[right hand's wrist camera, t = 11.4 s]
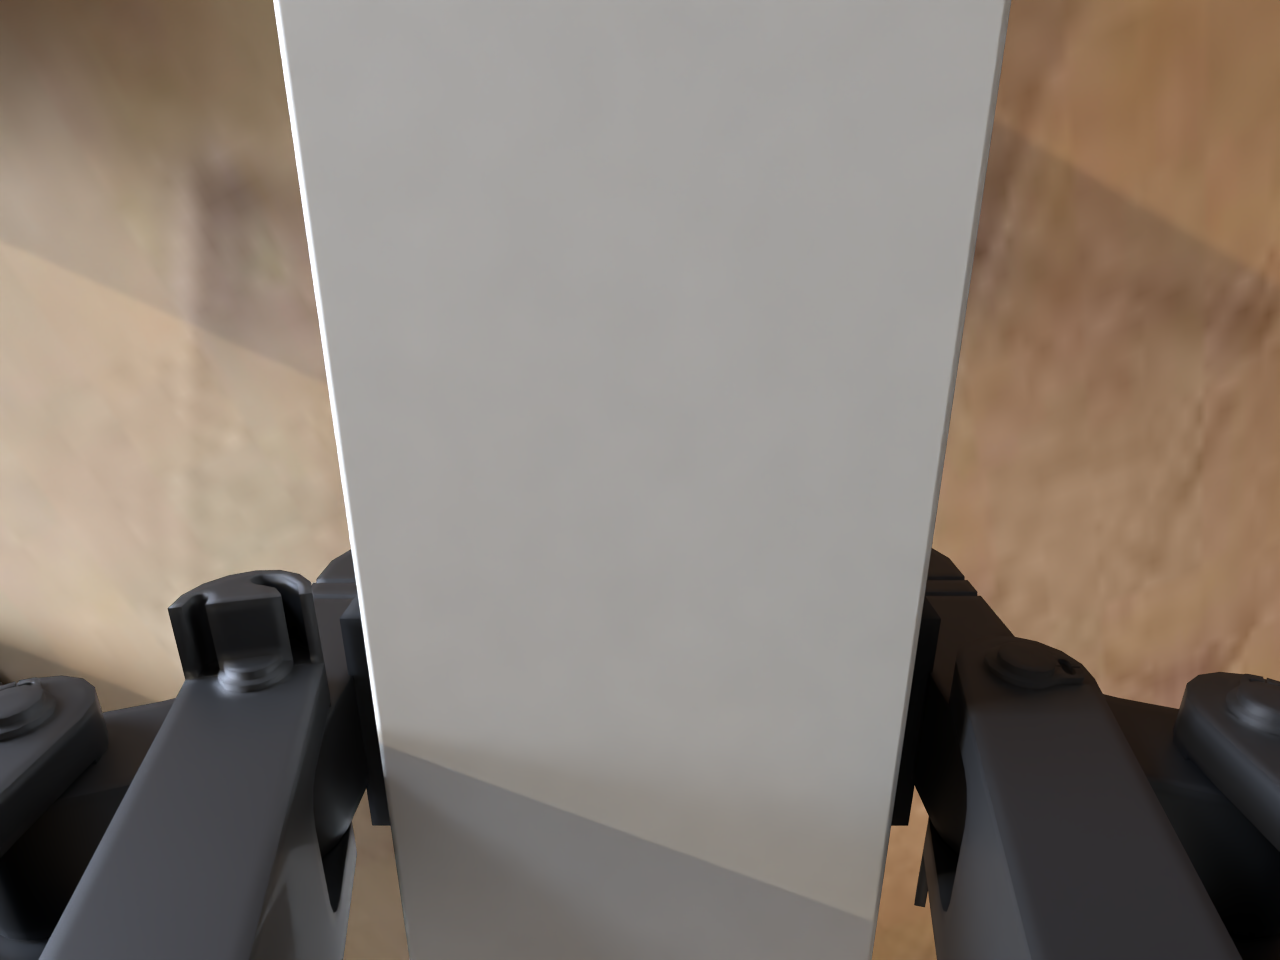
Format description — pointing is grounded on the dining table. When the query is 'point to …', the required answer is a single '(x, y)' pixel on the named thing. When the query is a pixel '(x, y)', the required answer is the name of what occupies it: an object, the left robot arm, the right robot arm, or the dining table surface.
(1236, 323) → the dining table surface
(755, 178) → the post
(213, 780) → the right robot arm
